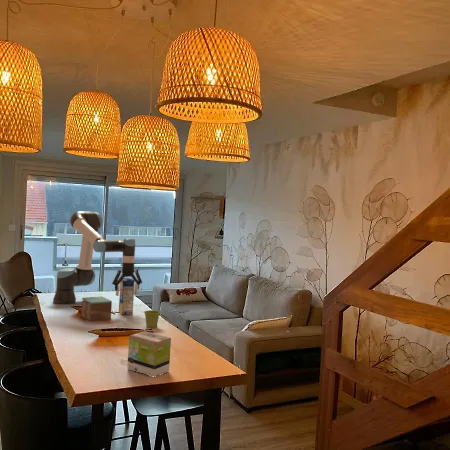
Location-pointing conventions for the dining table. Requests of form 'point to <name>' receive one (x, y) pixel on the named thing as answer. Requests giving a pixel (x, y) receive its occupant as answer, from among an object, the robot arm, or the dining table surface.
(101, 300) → the box lid
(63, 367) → the dining table surface
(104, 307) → the storage box
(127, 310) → the beverage box
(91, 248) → the robot arm
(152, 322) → the plant pot
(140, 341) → the tea box
